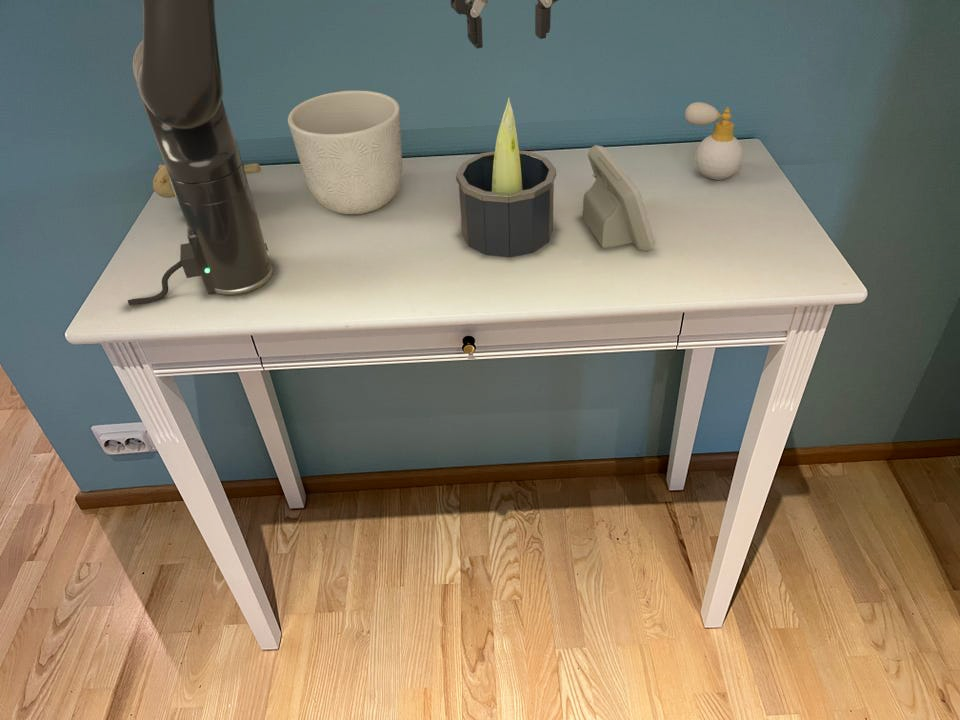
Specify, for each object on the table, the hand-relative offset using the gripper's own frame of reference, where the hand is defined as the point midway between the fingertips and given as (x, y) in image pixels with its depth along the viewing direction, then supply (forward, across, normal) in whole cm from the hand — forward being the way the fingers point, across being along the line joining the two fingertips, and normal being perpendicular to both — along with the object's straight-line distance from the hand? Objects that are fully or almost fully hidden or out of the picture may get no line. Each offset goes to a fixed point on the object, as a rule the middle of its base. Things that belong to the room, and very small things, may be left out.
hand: (509, 41), depth 94 cm
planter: (+28, +21, -18) cm, 39 cm away
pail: (+28, +1, 0) cm, 28 cm away
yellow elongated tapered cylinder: (+28, +1, 0) cm, 28 cm away
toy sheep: (+28, +44, -24) cm, 57 cm away
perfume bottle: (+28, -36, -4) cm, 46 cm away
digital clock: (+28, -15, +6) cm, 32 cm away
